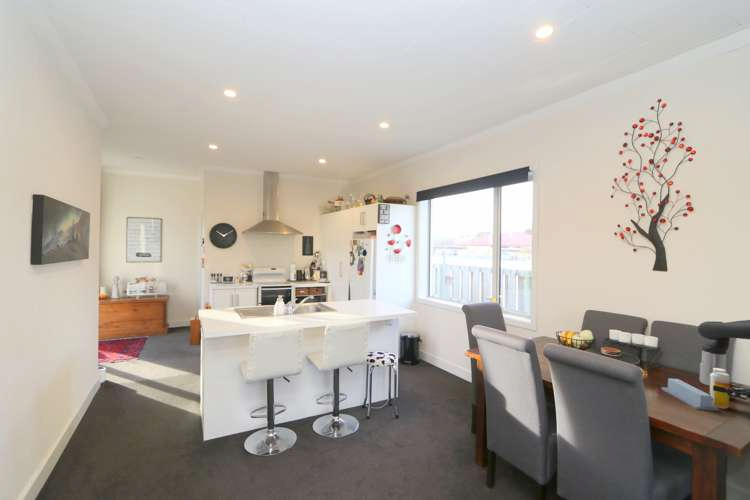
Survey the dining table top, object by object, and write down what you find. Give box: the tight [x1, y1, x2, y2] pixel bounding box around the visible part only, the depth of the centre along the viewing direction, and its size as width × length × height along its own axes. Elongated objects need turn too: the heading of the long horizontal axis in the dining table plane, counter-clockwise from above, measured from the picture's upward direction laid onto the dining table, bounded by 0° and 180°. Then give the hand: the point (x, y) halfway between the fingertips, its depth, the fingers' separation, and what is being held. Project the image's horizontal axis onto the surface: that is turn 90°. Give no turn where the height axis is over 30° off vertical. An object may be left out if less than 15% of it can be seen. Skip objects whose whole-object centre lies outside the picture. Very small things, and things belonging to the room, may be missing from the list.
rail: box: [661, 378, 720, 412], centre depth 169 cm, size 22×9×6 cm, turn 175°
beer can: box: [710, 371, 731, 410], centre depth 162 cm, size 6×6×15 cm
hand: (712, 385), depth 164 cm, fingers closed on beer can, 5 cm apart
